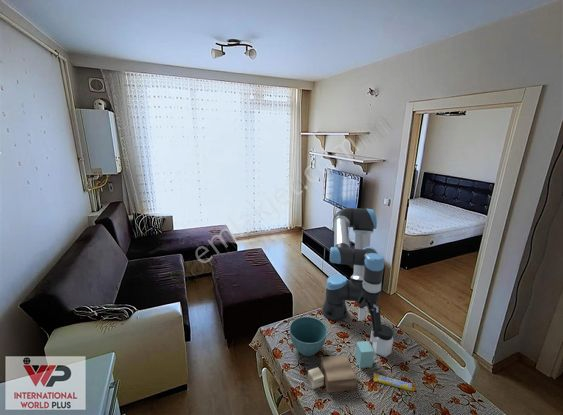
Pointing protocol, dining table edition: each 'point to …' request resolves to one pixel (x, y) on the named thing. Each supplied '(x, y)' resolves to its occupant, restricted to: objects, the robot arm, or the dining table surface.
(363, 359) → the teal block
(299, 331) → the plant pot
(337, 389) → the walnut block
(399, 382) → the candy bar
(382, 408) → the dining table surface
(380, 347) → the jar
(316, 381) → the cream cube
